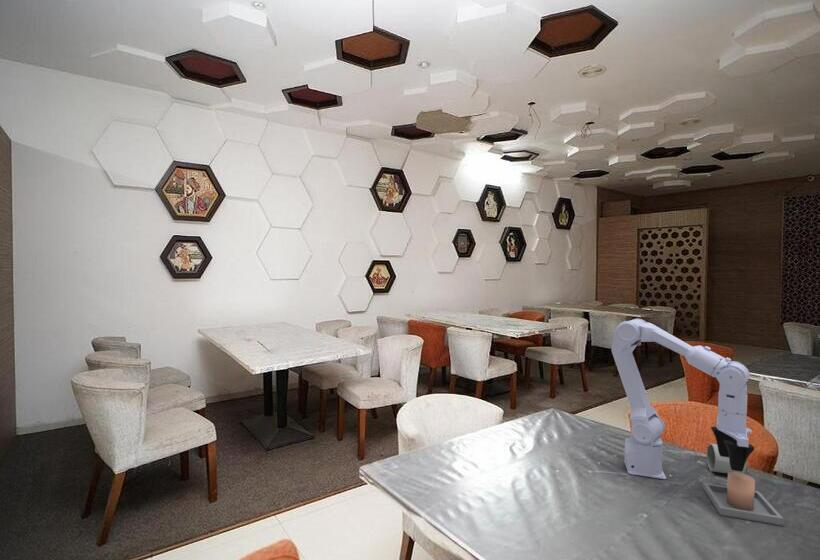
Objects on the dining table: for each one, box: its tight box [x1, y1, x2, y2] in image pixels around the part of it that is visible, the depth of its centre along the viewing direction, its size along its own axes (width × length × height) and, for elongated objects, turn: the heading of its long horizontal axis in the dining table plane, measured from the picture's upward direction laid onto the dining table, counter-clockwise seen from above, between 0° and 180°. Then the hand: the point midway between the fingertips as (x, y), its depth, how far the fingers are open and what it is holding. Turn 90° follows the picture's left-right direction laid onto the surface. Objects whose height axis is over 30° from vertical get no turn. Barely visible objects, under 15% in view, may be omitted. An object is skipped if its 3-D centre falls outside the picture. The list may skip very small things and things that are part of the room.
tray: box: [702, 482, 785, 527], centre depth 100 cm, size 12×12×2 cm
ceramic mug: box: [706, 443, 749, 475], centre depth 118 cm, size 11×8×8 cm
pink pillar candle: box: [726, 472, 756, 511], centre depth 100 cm, size 5×5×7 cm
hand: (730, 463), depth 103 cm, fingers open, 7 cm apart
